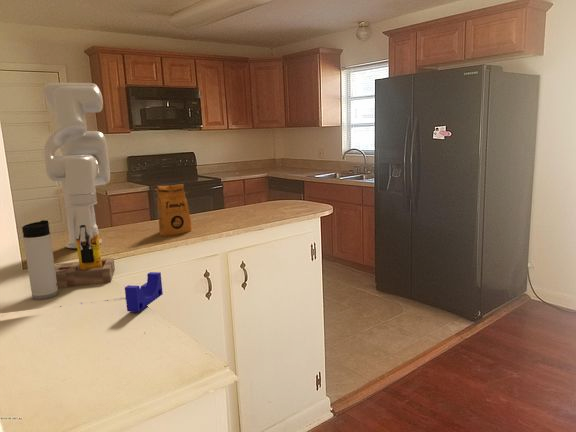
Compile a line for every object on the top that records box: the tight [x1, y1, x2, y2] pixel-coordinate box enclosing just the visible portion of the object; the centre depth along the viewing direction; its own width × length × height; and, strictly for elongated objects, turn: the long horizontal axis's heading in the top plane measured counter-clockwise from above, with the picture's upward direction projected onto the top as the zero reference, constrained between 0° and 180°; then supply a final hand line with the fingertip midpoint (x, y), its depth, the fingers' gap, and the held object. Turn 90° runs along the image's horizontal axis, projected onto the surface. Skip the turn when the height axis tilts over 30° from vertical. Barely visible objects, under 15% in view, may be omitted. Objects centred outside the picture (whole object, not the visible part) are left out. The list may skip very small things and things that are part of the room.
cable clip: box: [124, 271, 164, 313], centre depth 114 cm, size 12×4×6 cm, turn 168°
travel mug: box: [21, 219, 59, 301], centre depth 120 cm, size 6×7×20 cm
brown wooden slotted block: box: [54, 257, 116, 289], centre depth 134 cm, size 12×17×4 cm
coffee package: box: [156, 183, 193, 237], centre depth 182 cm, size 10×12×22 cm
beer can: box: [76, 222, 102, 270], centre depth 134 cm, size 6×6×15 cm
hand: (90, 259), depth 134 cm, fingers closed on beer can, 6 cm apart
